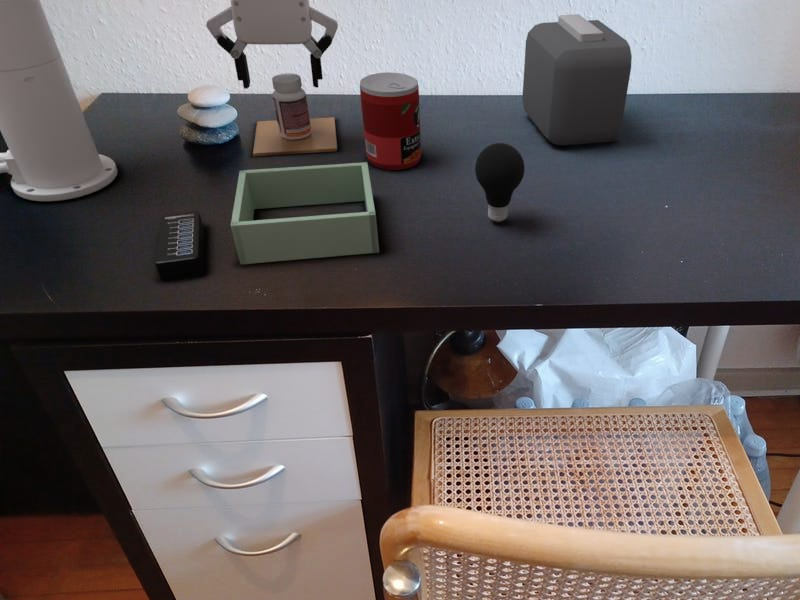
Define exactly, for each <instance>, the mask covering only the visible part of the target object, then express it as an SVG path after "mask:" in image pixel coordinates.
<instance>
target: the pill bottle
mask: <svg viewBox="0 0 800 600" xmlns="http://www.w3.org/2000/svg"><path fill="white" fill-rule="evenodd" d="M271 81H272V88H273V90H274V91H272V96H271V97H272V102H273V107H274V112H275V117H276V120H277V122H278V128H279V133H280V136H281V137H283V138H285V139H289V140H297V139H302V138H306V137H308V136H309V135H310V134H311V125H310V119H311V118H310V113H309V107H308V101H307V94H306V91H305V90H304V88H302V87H303V83H302V79H301V76H300V75H299V74H298V73H290V72H286V73H279V74H275V75H274V76H272V78H271Z"/></svg>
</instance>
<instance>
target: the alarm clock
mask: <svg viewBox="0 0 800 600" xmlns="http://www.w3.org/2000/svg"><path fill="white" fill-rule="evenodd" d="M524 49H525V50H524V65H523V67H524V68H523V80H522V81H523V83H522V99H521V100H522V105H523V110H524V112H525V113H526V114H527V116H528V117H529V118H530V120H531V121H532V123H534V125H535V126H536V127H537V128H538V130H539V131H540V132H541V133H542V135H543V136H544V138H545V139H547V140H548V141H549V143H551V144H552V145H556V146H575V145H586V144H596V143H597V144H598V143H608V142H616V141H617V140H618V138H620V134H621V130H622V126H623V120H624V114H625V107H626V102H627V95H628V89H629V83H630V77H631V72H632V56H633V55H632V50H631V46H630V44H629V42H628V40H627V39H625V38H624V37H622V36H621V35H619V34H618V33H617V32H615V30H613V29H611V28H610V27H609V26H607V25H606V24H605V23H603V22H601V21H600V19H592V20H591V19H590V20H589V19H586V18H584V17H583V16H582V15H581V14H578V13H577V14H576V13H575V14H559V15H558V19H557V21H551V22H540V23H537V24H534V26H533V27H532V28H531V29H530V30H529V31H528V32H527V36H526V39H525V48H524Z"/></svg>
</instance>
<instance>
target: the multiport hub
mask: <svg viewBox="0 0 800 600" xmlns="http://www.w3.org/2000/svg"><path fill="white" fill-rule="evenodd" d="M204 227H205V226H204V224H203V220H202V217H201V214H200V211H199V210H188V211H187V210H186V211H179V212H171V213H170V212H169V213H163V214H161V215H159V219H158V228H157V237H156V246H155V255H154V265H155V267H156V270H157V273H158V275H159V278H160V281H162V282H163V281H164V282H165V281H171V280H172V281H173V280H179V279H187V278H193V277H199V276H202V275H203V274H204V245H205V243H204V241H205V228H204Z"/></svg>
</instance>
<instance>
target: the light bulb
mask: <svg viewBox="0 0 800 600" xmlns="http://www.w3.org/2000/svg"><path fill="white" fill-rule="evenodd" d="M475 161H476V162H475V165H474V173H475V177H476V180H477V182H478V183H479V185H480V186H481V188H482V189H483V190H484V194H485V199H486V202H487V206H488V208H487V216H488V218H489V219H490V220H491V221H492V222H494V223H497V224H498V223H501V222H503V221H504V220H506V219H507V218H508V214H509V205H510V202H511V200H512V196H513V193H514V192H515V190H516V189H517V188H518V187H519V185H520V184H521V182H522V180H523V179H524V175H525V162H524V159H523V157H522V154H521V153H520V152H519V150H517V148H515V147H514V146H513V145H510V144H509V143H505V142H496V143H492V144H490V145H488V146H486V147H485V148H483V149H482V151H481V152H480V153H479V154H478V155H477V158H476V160H475Z"/></svg>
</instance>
